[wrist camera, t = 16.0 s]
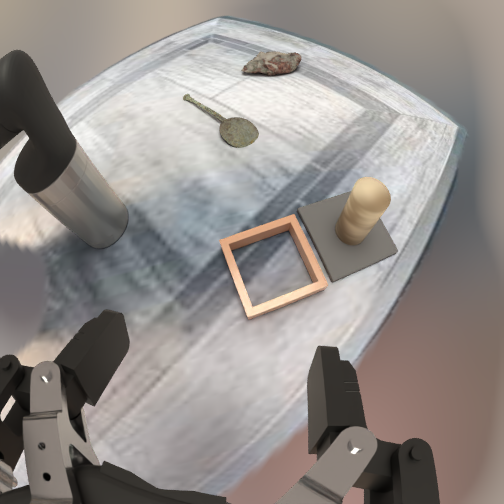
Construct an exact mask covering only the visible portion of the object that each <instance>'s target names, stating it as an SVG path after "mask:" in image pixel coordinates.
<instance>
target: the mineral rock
mask: <svg viewBox="0 0 504 504" xmlns="http://www.w3.org/2000/svg"><path fill="white" fill-rule="evenodd" d="M300 61H301V56H300V55H299V54H298V53H289V54H285V53H280V52H267V53H264V52H259V54H258V55H257V57H254V59H253V60H251V61H249V62H248V63H247V65H245V66H244V67H243V69H242V70H241V71H243V72H247V73H250V72H251V73H257V72H261V73H266V75H269V76H270V75H275V74H279V73H280V74H282V73H289V72H292V71H294V70H295V69H296V67H297V66H298V65H299V63H300Z"/></svg>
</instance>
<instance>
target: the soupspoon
mask: <svg viewBox="0 0 504 504" xmlns="http://www.w3.org/2000/svg"><path fill="white" fill-rule="evenodd" d="M183 100H188V101H190V102H193V103H195V104H196V105H198V106H200V107H201V108H203V109H204V110H206V111H208V112H209V113H211V114H212V115H214V116H215V117H216V118H218V119H219V120H220V121H222V123H221V124H220V134H221V136H222V137H223V138H224V139H225V140H226V141H227V142H228V143H229V144H230V145H232V146H234V147H238V148H242V147H245V146H248V145H250V144H252V143H253V142H254V141H255V140H256V139H257V138H258V135H259V133H258V130H257V128H256V127H255V126H254V125H253V123H251V122H250V121H248V120H246V119H244V118H238V117H235V118H229V119H226V118H224V117H222V116H221V115H219V114H218V113H216V112H215V111H213V110H211V109H210V108H208V107H206V106H204V105H202V104H201V103H199V102H197V101H195V100H194V99H193V98H191V97H190V95H189V94H186V95H184V97H183Z"/></svg>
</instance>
